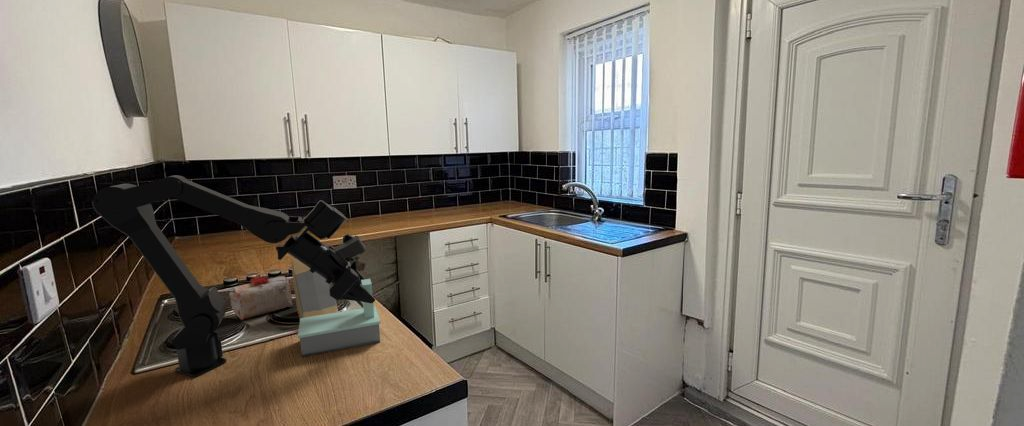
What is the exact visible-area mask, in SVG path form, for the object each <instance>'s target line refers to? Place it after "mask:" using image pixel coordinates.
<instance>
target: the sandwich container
mask: <svg viewBox="0 0 1024 426" xmlns="http://www.w3.org/2000/svg"><path fill="white" fill-rule="evenodd" d="M290 262H291V272H292V281H293V290H294V296H295V304H296V310H297V311H298V312H297V315H298V314H299V315H298V317H299V316H300V318H305V317H311V316H317V315H324V314H330V313H336V312H339V309H338V304H337V300H336V299H334V298H333V297H331V296H330V290H329V284H328V283H327V282H325V278H324V277H322V276H321V275H319V274H318V273H316V272H314V273H312V272H311V271H309V267H307V266H306V265H305V264H303V263H302V262H300V261H299V260H297V259H296V258H294V257H293V258H291V261H290ZM300 318H299V319H300Z"/></svg>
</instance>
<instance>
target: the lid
mask: <svg viewBox="0 0 1024 426" xmlns="http://www.w3.org/2000/svg"><path fill="white" fill-rule="evenodd" d="M361 285H362V286H363V287H364V288H365V289H366V290H367V291H368V292H369V293H370V294H371V295H372V296H373V284H372V280H371V278H365V280H361ZM373 297H374V296H373ZM377 309H378V308H377V306H376V305H374V302H373V303H366V302H362V307H361V308H355V309H350V310H349V309H348V310H343V311H338V312H336V313H330V314H324V315H317V316H311V317H305V318H299V325H298V332H297V339H300V338H303V337H309V336H314V335H320V334H326V333H331V332H337V331H342V330H348V329H354V328H359V327H365V326H371V325H376V324H379V325H380V324H381V319H380V316H379V313H378V310H377Z"/></svg>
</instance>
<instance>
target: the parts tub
mask: <svg viewBox="0 0 1024 426" xmlns="http://www.w3.org/2000/svg"><path fill="white" fill-rule="evenodd" d="M380 335H381V333H380V324H376V325H371V326H365V327H359V328H354V329H348V330H342V331H337V332H331V333H326V334H320V335H314V336H309V337H303V338H299V343H300V344H299V345H300V351H301V357H302V358H304V357H311V356H316V355H320V354H321V355H322V354H326V353H331V352H337V351H341V350H347V349H351V348H352V349H353V348H358V347H361V346H367V345H372V344H377V343H381V336H380Z"/></svg>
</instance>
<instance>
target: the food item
mask: <svg viewBox="0 0 1024 426" xmlns="http://www.w3.org/2000/svg"><path fill="white" fill-rule="evenodd" d="M291 290H292V289H291V286H290V280H289V279H288V278H287V277H286V276H284V275H282V276H277V277H273V278H272V277H271V278H268V277H266V276H264V275H263V276H260V275H259V274H256V275H255V276H254V277H252V278H251V279H250V282H249V283H245V284H240V285H238V286H234V287H233V291H230V292H229V294H228V295H229V298H230V305H231V308H232V311H233V313H234V315H236V316H237V317H238V318H239V319H240V320H241V321H244V320H247V319H250V318H251V319H252V318H254V317H258V316H261V315H266V314H268V313H273V312H276V310H278V311H280V310H279V309H282V310H284V309H283V308H286V307H290V306H293V307H294V304H293V297H292V292H291ZM290 308H291V307H290ZM286 309H287V308H286Z"/></svg>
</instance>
